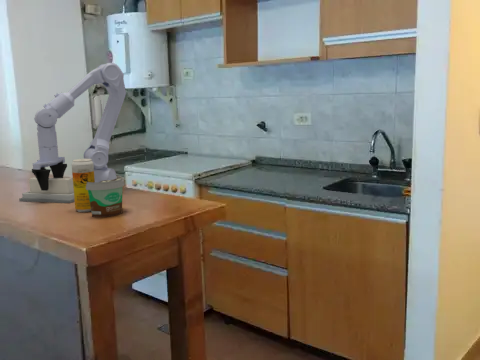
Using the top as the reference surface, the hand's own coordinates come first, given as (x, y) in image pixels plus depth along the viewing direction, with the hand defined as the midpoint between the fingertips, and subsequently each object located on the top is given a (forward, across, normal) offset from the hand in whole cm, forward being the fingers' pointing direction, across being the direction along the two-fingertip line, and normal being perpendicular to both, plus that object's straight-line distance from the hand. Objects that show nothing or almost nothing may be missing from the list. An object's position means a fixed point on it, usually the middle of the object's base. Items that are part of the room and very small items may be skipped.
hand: (51, 187), depth 161 cm
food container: (+4, +15, +29) cm, 33 cm away
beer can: (+4, +12, +19) cm, 23 cm away
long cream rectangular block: (+3, 0, 0) cm, 3 cm away
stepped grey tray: (+4, 0, 0) cm, 4 cm away
